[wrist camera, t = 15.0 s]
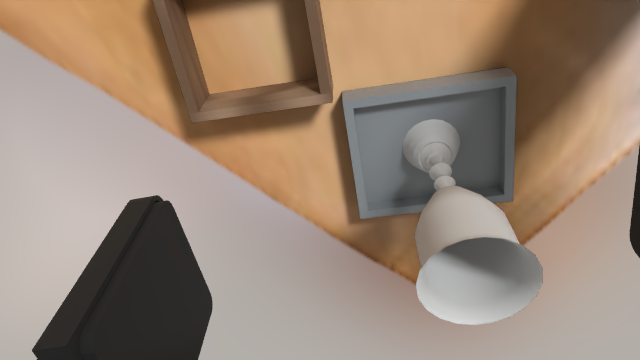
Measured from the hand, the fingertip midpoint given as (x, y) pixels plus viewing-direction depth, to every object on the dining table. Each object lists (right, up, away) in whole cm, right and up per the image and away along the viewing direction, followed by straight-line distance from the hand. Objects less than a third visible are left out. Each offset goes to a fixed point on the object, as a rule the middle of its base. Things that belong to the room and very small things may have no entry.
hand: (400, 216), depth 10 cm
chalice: (+8, +4, +35) cm, 36 cm away
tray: (+8, +4, +36) cm, 37 cm away
